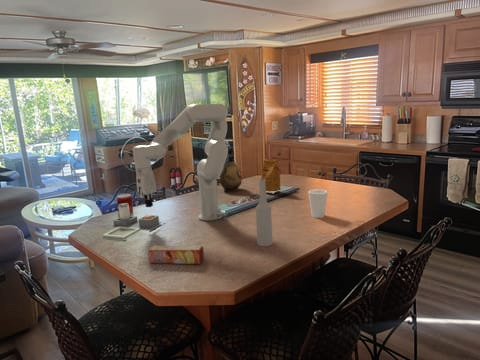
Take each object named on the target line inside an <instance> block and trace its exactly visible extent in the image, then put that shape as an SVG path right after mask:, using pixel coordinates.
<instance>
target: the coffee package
mask: <svg viewBox="0 0 480 360" xmlns="http://www.w3.org/2000/svg"><path fill="white" fill-rule="evenodd" d="M260 173H261V178H260V179H265V180H266V181H265V187H266V191H277V190H280V191H281V169H280V168H279V165H278V160H276V159H275V160H269V159H266V158H264V160H263V164H262V169H261V172H260Z"/></svg>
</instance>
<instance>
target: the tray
mask: <svg viewBox="0 0 480 360" xmlns="http://www.w3.org/2000/svg"><path fill="white" fill-rule="evenodd" d="M119 230H131V231H130V232H129V233H127V234H124V235H116V234H114V233H115V232H117V231H119ZM139 231H141V228H133V227H122V226H117V227H115V228H114V229H112V230H110V231H108V232H106V233H104V234H102V237H103V240H104V239H105V241H114V242H115V241H116V242H123V243H124V242H127V241H128V239H126V238H128V237H130V236H132V235H134V234H135V233H137V232H139Z"/></svg>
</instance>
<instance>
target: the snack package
mask: <svg viewBox="0 0 480 360" xmlns="http://www.w3.org/2000/svg"><path fill="white" fill-rule="evenodd" d="M147 255H148V261H149V263H151V264H173V265H174V264H177V265H180V264H181V265H182V264H184V265H185V264H186V265H201V264H202V263H203V261H204V259H205V255H204V247H203V245H201V244H200V245H152V246H151V247H150V248H149V250H148V253H147Z"/></svg>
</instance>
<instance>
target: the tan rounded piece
mask: <svg viewBox="0 0 480 360" xmlns="http://www.w3.org/2000/svg"><path fill="white" fill-rule="evenodd" d="M152 215H153V214H146V215H144V216H143V217H144V218H145V219H152V218H153V216H152Z"/></svg>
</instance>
